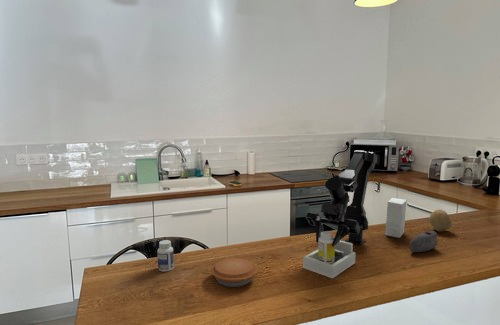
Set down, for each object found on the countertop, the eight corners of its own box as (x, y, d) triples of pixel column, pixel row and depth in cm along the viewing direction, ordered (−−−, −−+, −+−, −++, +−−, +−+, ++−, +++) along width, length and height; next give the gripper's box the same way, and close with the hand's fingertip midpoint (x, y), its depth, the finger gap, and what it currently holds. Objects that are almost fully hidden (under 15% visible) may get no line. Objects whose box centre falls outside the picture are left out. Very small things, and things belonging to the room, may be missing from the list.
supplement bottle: (336, 259, 124) (336, 231, 123) (332, 265, 119) (332, 236, 118) (320, 256, 127) (320, 229, 125) (316, 262, 122) (316, 234, 120)
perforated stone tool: (415, 256, 133) (416, 239, 132) (403, 251, 138) (404, 234, 137) (440, 249, 140) (442, 232, 139) (429, 245, 144) (430, 228, 143)
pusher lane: (327, 254, 135) (327, 236, 134) (355, 263, 127) (355, 244, 126) (303, 267, 123) (303, 248, 122) (332, 278, 116) (333, 258, 115)
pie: (202, 276, 118) (201, 262, 117) (240, 264, 126) (240, 251, 126) (226, 296, 105) (226, 280, 104) (267, 281, 114) (267, 266, 113)
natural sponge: (425, 227, 166) (426, 206, 164) (445, 228, 165) (446, 207, 163) (432, 233, 157) (433, 212, 156) (453, 234, 156) (455, 212, 154)
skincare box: (389, 230, 162) (391, 197, 160) (405, 233, 158) (407, 199, 156) (384, 235, 155) (386, 201, 153) (400, 238, 151) (402, 203, 149)
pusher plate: (322, 256, 130) (323, 245, 129) (343, 263, 124) (344, 251, 123) (321, 257, 129) (321, 246, 128) (342, 264, 123) (342, 252, 123)
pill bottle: (168, 263, 127) (167, 238, 126) (176, 268, 123) (175, 242, 122) (155, 268, 123) (154, 242, 122) (163, 273, 120) (162, 246, 118)
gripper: (308, 190, 128) (293, 227, 121) (358, 197, 117) (345, 239, 110) (317, 206, 136) (303, 242, 129) (365, 214, 125) (353, 254, 118)
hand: (324, 244), depth 121 cm, fingers closed on supplement bottle, 5 cm apart
